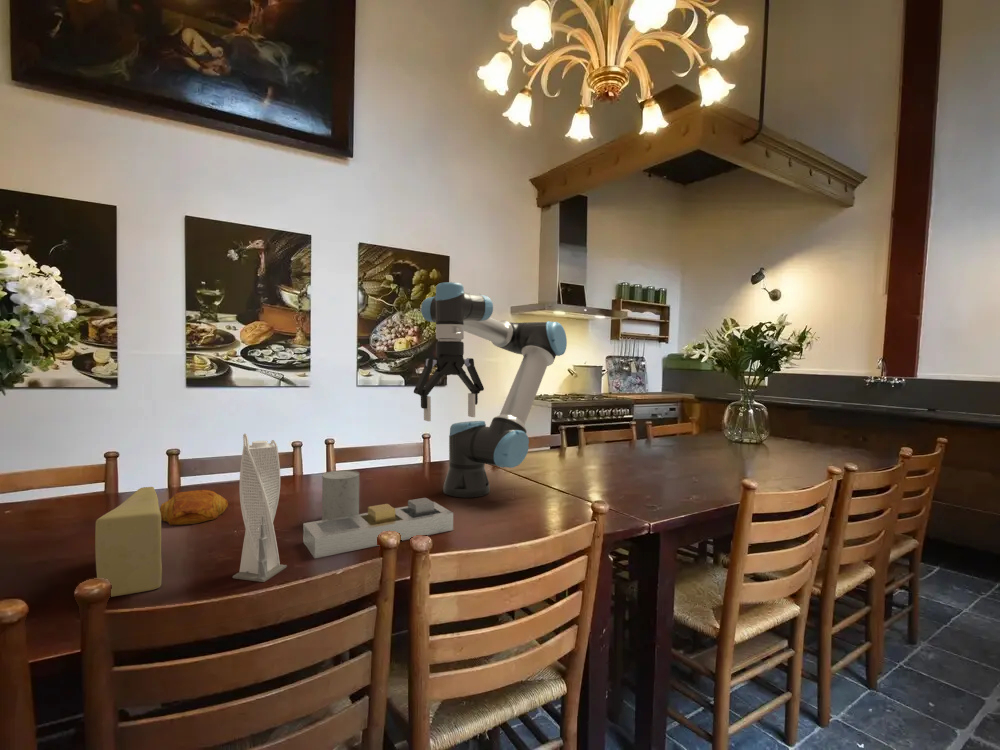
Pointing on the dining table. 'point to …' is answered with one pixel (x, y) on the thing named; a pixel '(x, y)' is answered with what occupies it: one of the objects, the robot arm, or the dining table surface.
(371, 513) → the tan foam cube
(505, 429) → the robot arm
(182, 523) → the croissant
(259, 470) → the skyscraper
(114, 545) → the cheese
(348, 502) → the grey flat-topped mottled cylinder
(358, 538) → the tray
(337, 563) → the dining table surface
